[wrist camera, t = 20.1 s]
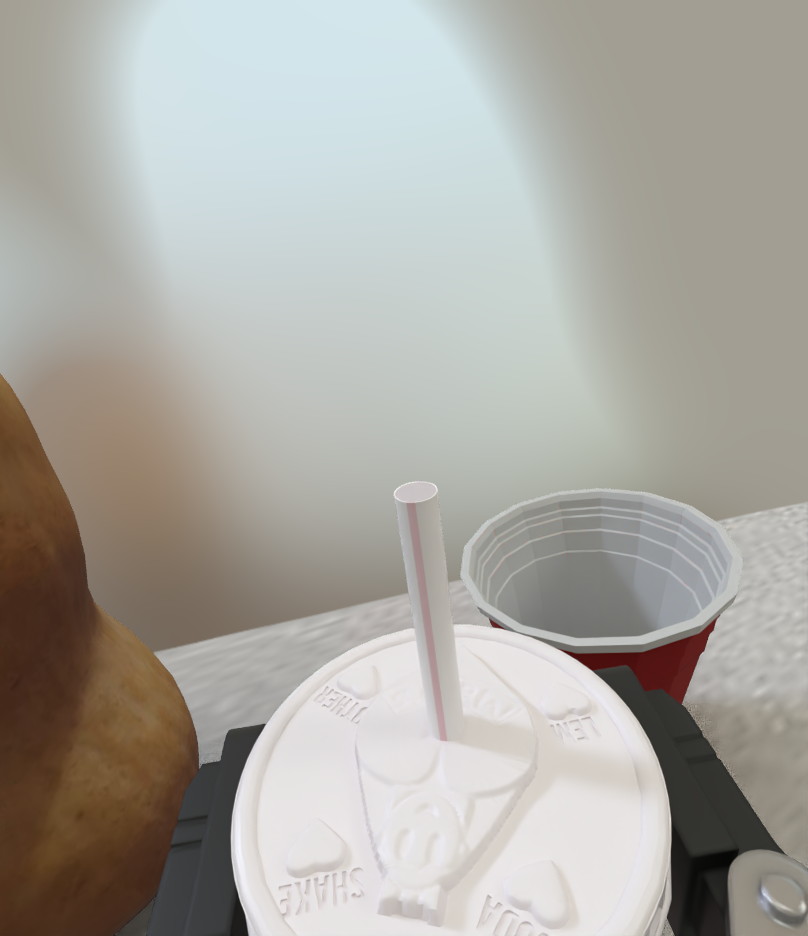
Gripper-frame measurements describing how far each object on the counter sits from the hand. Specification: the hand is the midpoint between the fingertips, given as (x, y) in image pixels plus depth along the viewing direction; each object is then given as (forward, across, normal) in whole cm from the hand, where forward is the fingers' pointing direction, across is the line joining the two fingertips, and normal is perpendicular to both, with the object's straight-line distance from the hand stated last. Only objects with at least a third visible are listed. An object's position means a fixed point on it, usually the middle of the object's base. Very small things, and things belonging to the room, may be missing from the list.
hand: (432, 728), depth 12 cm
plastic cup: (+11, -8, +16) cm, 21 cm away
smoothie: (-2, 0, +8) cm, 8 cm away
